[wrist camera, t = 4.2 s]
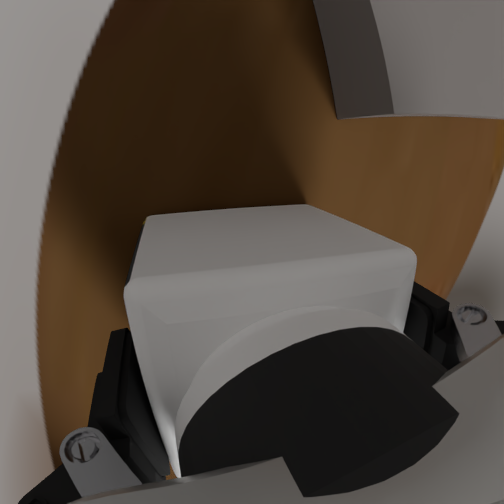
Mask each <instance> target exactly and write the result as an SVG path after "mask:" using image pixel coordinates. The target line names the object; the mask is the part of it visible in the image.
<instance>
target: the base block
mask: <svg viewBox="0 0 504 504" xmlns="http://www.w3.org/2000/svg"><path fill="white" fill-rule="evenodd" d="M313 3H314V7H315V11H316V15H317V19H318V23H319V27H320V31H321V36H322V40H323V44H324V49H325V54H326V58H327V63H328V68H329V73H330V79H331V84H332V90H333V95H334V101H335V107H336V113H337V119H350V118H367V117H391V116H449V117H472V118H489V119H504V0H313Z"/></svg>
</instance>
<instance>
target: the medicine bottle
mask: <svg viewBox="0 0 504 504" xmlns="http://www.w3.org/2000/svg"><path fill="white" fill-rule="evenodd" d="M416 264H417V256H416V255H415V253H414V252H413V251H412V250H411V249H410V248H408V247H406V246H404V245H402V244H399V243H397V242H395V241H393V240H391V239H388V238H386V237H384V236H382V235H379V234H377V233H375V232H373V231H370V230H368V229H366V228H363V227H361V226H359V225H357V224H354V223H352V222H349V221H347V220H345V219H342V218H340V217H338V216H335V215H333V214H330V213H328V212H325V211H323V210H321V209H318V208H316V207H313V206H311V205H307V204H300V205H281V206H264V207H248V208H233V209H220V210H207V211H194V212H183V213H171V214H161V215H151V216H149V217H147V218H146V219H145V220H144V222H143V225H142V228H141V231H140V235H139V238H138V241H137V244H136V248H135V251H134V255H133V258H132V262H131V265H130V269H129V272H128V276H127V280H126V283H125V287H124V301H125V306H126V311H127V316H128V320H129V325H130V329H131V334H132V338H133V342H134V347H135V351H136V355H137V359H138V363H139V366H140V370H141V374H142V377H143V381H144V385H145V388H146V392H147V395H148V398H149V402H150V405H151V408H152V411H153V414H154V418H155V421H156V424H157V427H158V430H159V433H160V436H161V438H162V441H163V444H164V447H165V449H166V452H167V454H168V457H169V460H170V463H171V466H172V468H173V471H174V473H175V475H176V476H177V477H178V478H181V477H186V476H191V475H195V474H200V473H204V472H208V471H213V470H217V469H221V468H225V467H230V466H236V465H242V464H248V463H254V462H259V461H263V460H268V459H273V458H278V457H282V458H283V460H284V462H285V463H286V465H287V467H288V469H289V471H290V473H291V475H292V477H293V479H294V481H295V483H296V484H297V486H298V488H299V490H300V492H301V494H302V496H303V497H318V496H327V495H335V494H342V493H348V492H352V491H356V490H359V489H362V488H365V487H368V486H371V485H374V484H377V483H380V482H383V481H386V480H387V479H389V478H391V477H393V476H395V475H397V474H399V473H400V472H402V471H404V470H406V469H407V468H409V467H411V466H413V465H414V464H416V463H417V462H418V461H419V460H421V459H422V458H423V457H424V456H425V455H427V454H428V453H429V452H430V451H431V450H432V449H434V448H435V447H436V446H437V445H438V444H439V443H440V441H441V440H442V439H443V438H444V436H445V435H446V434H447V432H448V431H449V430H450V428H451V427H452V426H453V424H454V423H455V422H456V420H457V418H458V416H459V414H460V413H459V412H458V411H457V410H456V409H455V408H454V407H453V406H452V405H451V404H450V403H449V402H448V401H447V400H446V399H445V398H443V397H442V396H441V395H440V394H439V393H438V392H437V391H436V390H435V389H434V388H433V387H432V386H433V385H434V384H435V383H436V382H437V381H438V380H439V379H440V378H441V377H442V376H443V375H444V374H445V372H447V371H448V370H447V369H446V368H445V367H443V366H442V365H441V364H440V363H439V362H438V361H436V360H435V359H434V358H433V357H432V356H430V355H429V354H428V353H427V352H425V351H424V350H423V349H422V348H421V347H419V346H418V345H417V344H416V343H415V342H413V341H412V340H411V339H410V338H408V337H407V336H406V335H405V334H404V333H403V331H404V327H405V322H406V318H407V313H408V309H409V304H410V299H411V293H412V288H413V282H414V277H415V271H416Z"/></svg>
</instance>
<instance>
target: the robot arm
mask: <svg viewBox="0 0 504 504" xmlns="http://www.w3.org/2000/svg"><path fill="white" fill-rule="evenodd" d="M403 333H404V334H405V335H406V336H407V337H408V338H410V339H411V340H412V341H413V342H415V343H416V344H417V345H418V346H419V347H421V348H422V349H423V350H424V351H425V352H427V353H428V354H429V355H430V356H432V357H433V358H434V359H435V360H436V361H438V362H439V363H440V364H441V365H442V366H443V367H445V368H446V369H447V370H448V371H447V372H445V374H444V375H443V376H442V377H441V378H440V379H439V380H438V381H437V382H436V383H435V384H434V385H433V386H432V387H433V388H434V389H435V390H436V391H437V392H438V393H439V394H440V395H441V396H442V397H443V398H445V399H446V400H447V401H448V402H449V403H450V404H451V405H452V406H453V407H454V408H455V409H456V410H457V411H458V412H459V413H460V414H459V416H458V418H457V420H456V422H455V423H454V424H453V426H452V427H451V428H450V430H449V431H448V432H447V434H446V435H445V436H444V438H443V439H442V440H441V441H440V443H439V444H438V445H437V446H436V447H435V448H434V449H432V450H431V451H430V452H429V453H428V454H427V455H425V456H424V457H423V458H422V459H421V460H419V461H418V462H417V463H416V464H414V465H413V466H411V467H409V468H407V469H406V470H404V471H402V472H400V473H399V474H397V475H395V476H393V477H391V478H389V479H387V480H386V481H383V482H380V483H377V484H374V485H371V486H368V487H365V488H362V489H359V490H356V491H352V492H348V493H342V494H335V495H327V496H318V497H303V496H302V494H301V492H300V490H299V488H298V486H297V484H296V483H295V481H294V479H293V477H292V475H291V473H290V471H289V469H288V467H287V465H286V463H285V462H284V460H283V458H282V457H278V458H273V459H268V460H263V461H259V462H254V463H248V464H242V465H236V466H230V467H225V468H221V469H217V470H213V471H208V472H204V473H200V474H195V475H191V476H186V477H181V478H176V479H171V480H166V477H165V476H166V475H170V466H169V457H168V454H167V452H166V449H165V447H164V444H163V441H162V438H161V436H160V433H159V430H158V427H157V424H156V421H155V418H154V414H153V411H152V408H151V405H150V402H149V398H148V395H147V392H146V388H145V385H144V381H143V377H142V374H141V370H140V366H139V363H138V359H137V355H136V351H135V347H134V342H133V338H132V334H131V331H129V329H128V328H124V329H120V330H115V331H112V332H111V334H110V339H109V343H108V348H107V353H106V357H105V362H104V367H103V372H100V373H98V375H97V378H96V383H95V388H94V393H93V399H92V404H91V410H90V416H89V422H88V427H84V428H79V429H77V430H75V431H73V432H71V433H70V434H69V435H67V436H66V438H65V439H64V440H63V442H62V444H61V446H60V457H61V460H62V462H63V464H62V465H61V466H59V467H58V468H57V469H56V470H55V471H53V472H52V473H51V474H50V475H49V476H48V477H46V478H45V479H44V480H43V481H42V482H40V483H39V484H38V485H37V486H36V487H34V488H33V489H32V490H31V491H30V492H28V493H27V494H26V495H25V496H24V497H23V498H22V499H21V500H20V501H19V503H18V504H504V321H494V319H493V317H492V315H491V314H490V312H489V311H488V310H487V309H486V308H484V307H483V306H480V305H477V304H473V303H465V304H460V305H458V306H456V307H455V308H454V309H453V312H450V311H449V302H447V301H446V300H444V299H443V298H441V297H439V296H438V295H436V294H434V293H433V292H431V291H429V290H428V289H426V288H424V287H423V286H421V285H419V284H418V283H416V282H413V288H412V293H411V299H410V304H409V309H408V313H407V318H406V322H405V327H404V331H403Z"/></svg>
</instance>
